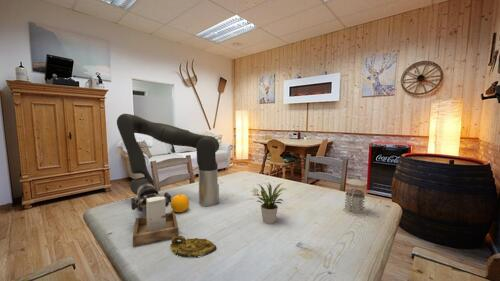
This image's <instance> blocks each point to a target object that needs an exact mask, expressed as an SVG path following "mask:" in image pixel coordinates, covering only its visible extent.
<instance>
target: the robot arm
mask: <svg viewBox="0 0 500 281" xmlns="http://www.w3.org/2000/svg"><path fill="white" fill-rule="evenodd" d="M116 126H117V129H118V132H119V134H120V137H121V140H122V142H123V145H124V148H125V150H126V153H127V156H128V157H127V158H128V161H129V166H130V171H131V173H132V174H133V175H136V174H137V175H138V174H141V175H143V176H141V177H138V178H133V179H132V180H131V181H130V182H129V188H130V190H131V193H133V194H134V195H137V198H138V199H137V198H135V197H132V198H130V201H131V202H130V204H131V205H130V206H131V210H132V211H134V210H136V209H137V211H138V212H140V213H143V212H144V208H145V207H146V198H152V197H158V196H164V198H165V199H166V208H168V207H169V205H170V203H171V200H172V195H171V194H170V193H168V192H164V194H161V193H159V191H158V190H157V188H156V187H155V186H154V185H155V182H154V179H153V177H152V176H151V174H150V171H149V170H148V166H147V162H146V157H145V154H144V152H143V150H142V149H141V147H140V145H139V144H138V141H137V139H136V136H135V134H140V135H144V136H145V135H146V136H149V137H151V138H153V139H155V140H157V141H159V142H161V143H164V144H168V145H170V146H171V145H172V146H176V147H177V146H178V147H188V148H193V149H196V163H197V166H198V167H197V168H198V204H199V205H200V206H204V207H212V206H214V205H217V204H220V185H219V182H218V179H219V178H218V169H219V167H218V162H217V159H216V152H218V151H219V149H220V142H219V140H218V139H217V138H216V137H215V136H210V135H204V134H199V133H194V132H192V131H189V130H187V129H183V128H180V127H177V126H173V125H171V124H167V123H162V122H161V123H160V122H153V121H150V120H148V119H145V118H143V117H140V116H138V115H135V114H130V113H122V114H120V115H119V116H118V117H117V118H116Z"/></svg>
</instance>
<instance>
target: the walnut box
mask: <svg viewBox="0 0 500 281" xmlns="http://www.w3.org/2000/svg"><path fill="white" fill-rule="evenodd" d="M177 221H178V220H177V216H176V213H175V211H173V212H166V229H162V230H156V231H151V232H147V215H146V216H141V217H136V218H135V222H134V223H135V224H134V228H133V233H132V248H135V247H139V246H144V245H149V244H154V243H160V242H162V241H168V240H172V239H173V237H174V236H179V225H178V222H177Z"/></svg>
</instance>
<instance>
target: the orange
mask: <svg viewBox="0 0 500 281" xmlns="http://www.w3.org/2000/svg"><path fill="white" fill-rule="evenodd" d="M189 205H190V200H189V198H188V196H186V195H185V194H181V193H180V194H176V195H174V196H173V198H171V202H170V208H171V209H172V211H173V212H176V213H181V212H185V211H187V210H188V208H189Z"/></svg>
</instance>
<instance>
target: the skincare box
mask: <svg viewBox="0 0 500 281" xmlns="http://www.w3.org/2000/svg"><path fill="white" fill-rule="evenodd" d="M145 207H146V216H147V232H151V231H156V230H162V229H166V213H167V212H166V211H167V210H166V208H167V207H166V199H165V198H164V196H158V197H152V198H146V206H145Z"/></svg>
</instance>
